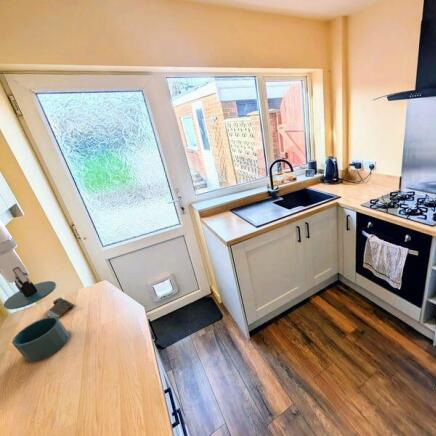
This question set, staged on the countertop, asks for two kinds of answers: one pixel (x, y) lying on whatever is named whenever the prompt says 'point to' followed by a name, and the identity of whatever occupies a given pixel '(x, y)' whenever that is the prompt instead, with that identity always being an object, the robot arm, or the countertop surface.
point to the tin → (41, 339)
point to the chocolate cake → (58, 307)
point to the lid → (21, 301)
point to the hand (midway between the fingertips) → (29, 291)
